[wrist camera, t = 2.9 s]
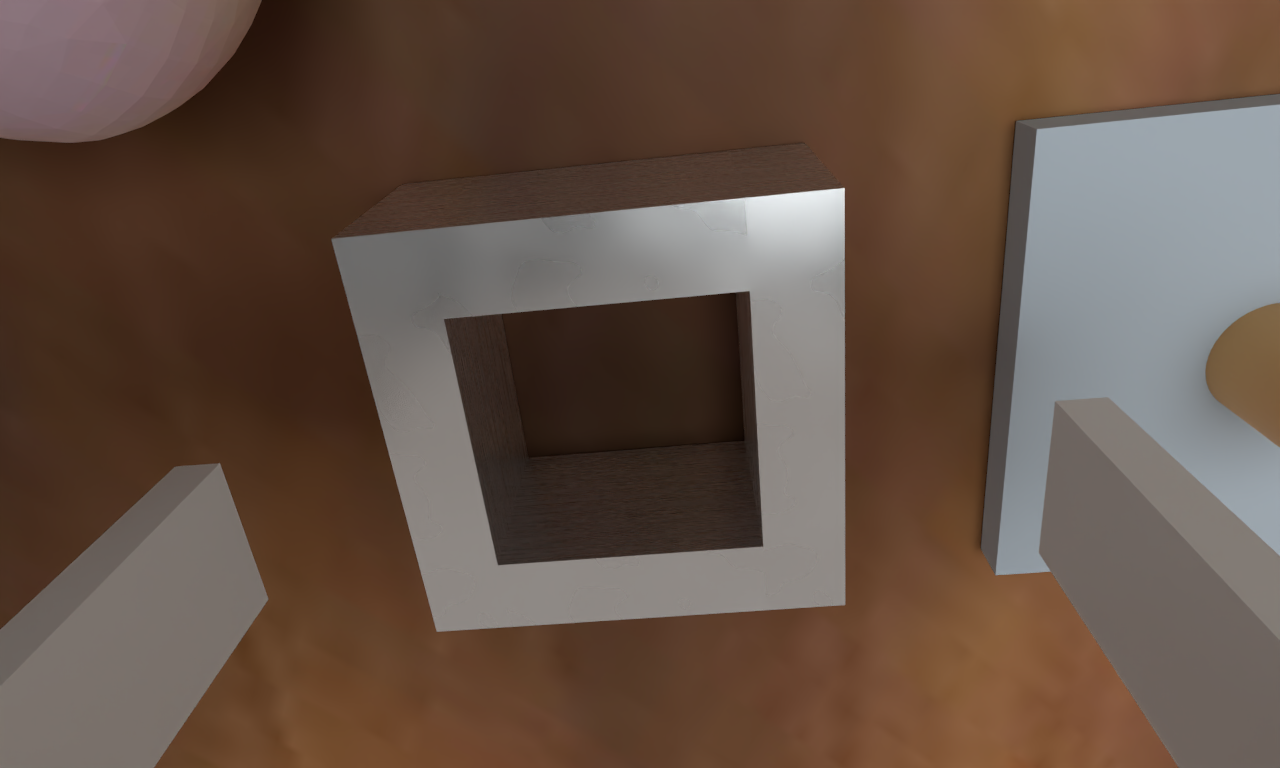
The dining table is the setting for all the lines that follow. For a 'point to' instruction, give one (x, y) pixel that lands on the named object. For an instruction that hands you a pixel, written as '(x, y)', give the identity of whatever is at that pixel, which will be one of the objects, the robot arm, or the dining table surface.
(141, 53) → the decorative fruit
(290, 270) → the dining table surface
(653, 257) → the gray square frame
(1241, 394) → the keeper
